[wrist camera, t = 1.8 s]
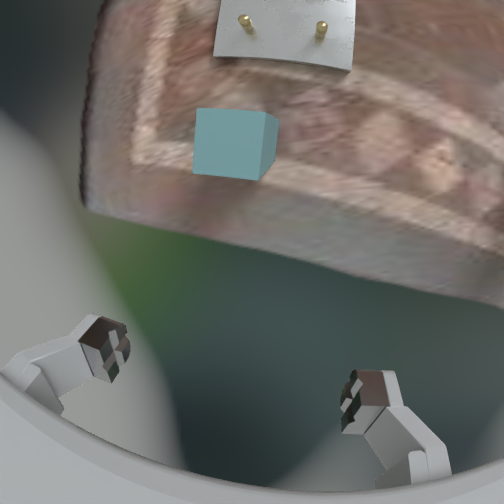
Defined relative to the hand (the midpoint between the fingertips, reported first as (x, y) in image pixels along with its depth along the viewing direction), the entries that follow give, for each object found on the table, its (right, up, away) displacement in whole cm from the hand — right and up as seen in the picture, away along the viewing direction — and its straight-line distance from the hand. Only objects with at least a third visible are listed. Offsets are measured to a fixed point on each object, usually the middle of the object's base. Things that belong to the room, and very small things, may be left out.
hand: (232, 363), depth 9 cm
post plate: (+5, +33, +15) cm, 36 cm away
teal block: (+1, +17, +22) cm, 28 cm away
